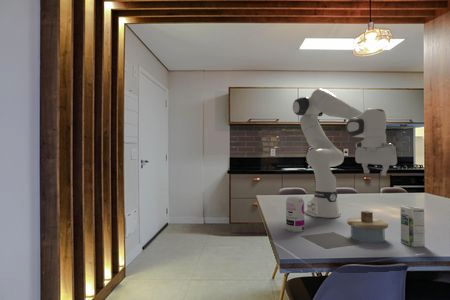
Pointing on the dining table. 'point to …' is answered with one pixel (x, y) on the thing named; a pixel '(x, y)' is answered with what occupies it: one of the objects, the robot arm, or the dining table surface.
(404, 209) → the syrup box
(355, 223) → the birch lid
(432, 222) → the dining table surface
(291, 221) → the supplement can
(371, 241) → the slate bowl
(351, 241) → the charcoal mat
